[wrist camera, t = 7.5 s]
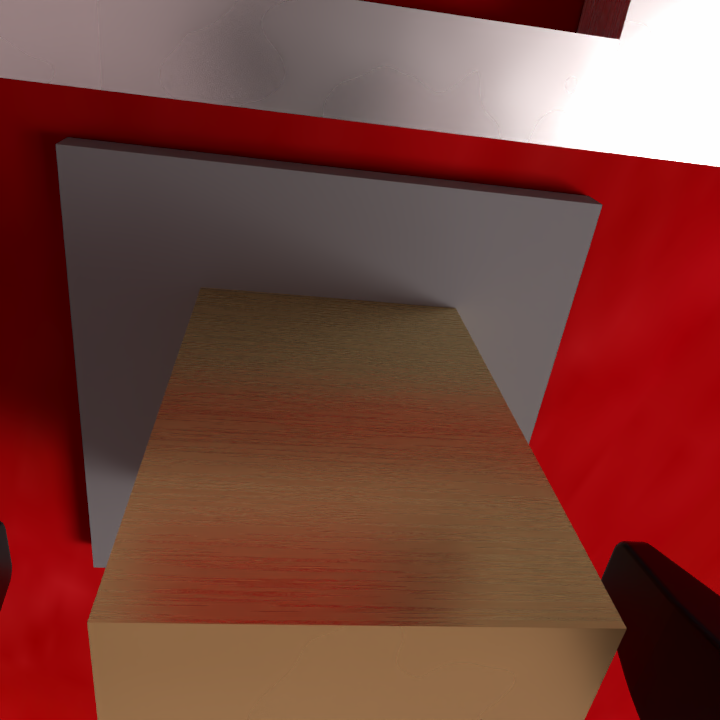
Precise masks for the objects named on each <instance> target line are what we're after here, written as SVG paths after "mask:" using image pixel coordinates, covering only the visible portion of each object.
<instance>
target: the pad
mask: <svg viewBox="0 0 720 720" xmlns="http://www.w3.org/2000/svg"><path fill="white" fill-rule="evenodd" d="M56 155H57V166H58V177H59V188H60V199H61V210H62V221H63V232H64V243H65V255H66V266H67V277H68V288H69V299H70V310H71V321H72V332H73V343H74V354H75V365H76V376H77V387H78V398H79V409H80V420H81V432H82V443H83V454H84V465H85V476H86V487H87V498H88V509H89V520H90V531H91V542H92V553H93V564H94V567H104V568H106V566H107V563H108V560H109V557H110V554H111V551H112V548H113V545H114V542H115V539H116V536H117V533H118V530H119V527H120V524H121V521H122V519H123V516H124V513H125V510H126V507H127V504H128V501H129V498H130V495H131V492H132V489H133V486H134V483H135V480H136V477H137V474H138V471H139V468H140V465H141V462H142V459H143V456H144V453H145V451H146V448H147V445H148V442H149V439H150V436H151V433H152V430H153V427H154V424H155V421H156V418H157V415H158V412H159V409H160V406H161V403H162V400H163V397H164V394H165V391H166V388H167V385H168V383H169V380H170V377H171V374H172V371H173V368H174V365H175V362H176V359H177V356H178V353H179V350H180V347H181V344H182V341H183V338H184V335H185V332H186V329H187V326H188V323H189V320H190V317H191V314H192V312H193V309H194V306H195V303H196V300H197V297H198V294H199V291H200V288H201V287H203V288H215V289H228V290H240V291H252V292H265V293H277V294H289V295H301V296H314V297H326V298H338V299H350V300H363V301H375V302H387V303H399V304H412V305H424V306H436V307H449V308H456V309H457V311H458V313H459V315H460V317H461V319H462V321H463V323H464V324H465V326H466V328H467V330H468V332H469V334H470V336H471V338H472V339H473V341H474V343H475V345H476V347H477V349H478V351H479V353H480V354H481V356H482V358H483V360H484V362H485V364H486V366H487V368H488V369H489V371H490V373H491V375H492V377H493V379H494V381H495V383H496V384H497V386H498V388H499V390H500V392H501V394H502V396H503V398H504V399H505V401H506V403H507V405H508V407H509V409H510V411H511V413H512V414H513V416H514V418H515V420H516V422H517V424H518V426H519V428H520V429H521V431H522V433H523V435H524V437H525V439H526V441H527V443H528V444H529V441H530V438H531V435H532V432H533V428H534V425H535V422H536V419H537V415H538V412H539V409H540V406H541V402H542V399H543V396H544V393H545V389H546V386H547V383H548V380H549V376H550V373H551V370H552V367H553V364H554V360H555V357H556V354H557V351H558V347H559V344H560V341H561V338H562V334H563V331H564V328H565V325H566V321H567V318H568V315H569V312H570V308H571V305H572V302H573V299H574V295H575V292H576V289H577V286H578V282H579V279H580V276H581V273H582V269H583V266H584V263H585V260H586V256H587V253H588V250H589V247H590V243H591V240H592V237H593V234H594V230H595V227H596V224H597V221H598V217H599V214H600V211H601V208H602V204H600V203H599V202H597V201H596V200H594V199H592V198H591V197H589V196H584V195H575V194H566V193H558V192H549V191H540V190H531V189H522V188H513V187H505V186H496V185H487V184H478V183H469V182H460V181H451V180H443V179H434V178H425V177H416V176H407V175H398V174H389V173H381V172H372V171H363V170H354V169H345V168H336V167H327V166H319V165H310V164H301V163H292V162H283V161H274V160H265V159H257V158H248V157H239V156H230V155H221V154H212V153H204V152H195V151H186V150H177V149H168V148H159V147H150V146H142V145H133V144H124V143H115V142H106V141H97V140H88V139H80V138H71V137H67V138H65V139H63V140H62V141H60V142H58V143H56Z"/></svg>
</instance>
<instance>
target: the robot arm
mask: <svg viewBox="0 0 720 720" xmlns="http://www.w3.org/2000/svg"><path fill="white" fill-rule="evenodd" d="M11 573H12V563H11V557H10V551H9V546H8V540H7V534H6V529H5V526H4V524H3V523H2V522H1V521H0V610H1V607H2V604H3V601H4V598H5V595H6V592H7V589H8V586H9V583H10V579H11ZM601 581H602V583H603V585H604V587H605V589H606V591H607V593H608V594H609V596H610V598H611V600H612V602H613V604H614V606H615V608H616V609H617V611H618V613H619V615H620V617H621V619H622V621H623V623H624V624H625V626H626V628H627V629H626V631H625V634H624V636H623V638H622V640H621V642H620V644H619V646H618V648H617V651H618V655H619V658H620V662H621V665H622V669H623V672H624V676H625V679H626V682H627V685H628V688H629V691H630V694H631V697H632V700H633V702H634V705H635V708H636V710H637V713H638V715H639V718H640V720H720V596H719V595H718V594H716V593H715V592H714V591H712V590H711V589H709V588H708V587H707V586H705V585H704V584H703V583H701V582H700V581H699V580H697V579H696V578H695V577H693V576H692V575H690V574H689V573H688V572H686V571H685V570H684V569H682V568H681V567H680V566H678V565H677V564H676V563H674V562H673V561H671V560H670V559H669V558H667V557H666V556H665V555H663V554H662V553H661V552H659V551H658V550H657V549H655V548H654V547H652V546H651V545H649V544H648V543H645V542H631V541H623V542H620V543H618V544H617V545H616V546H615V548H614V551H613V553H612V555H611V558H610V560H609V562H608V565H607V567H606V569H605V572H604V574H603V576H602V579H601Z"/></svg>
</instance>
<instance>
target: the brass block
mask: <svg viewBox="0 0 720 720" xmlns="http://www.w3.org/2000/svg"><path fill="white" fill-rule="evenodd" d="M87 624H88V633H89V642H90V652H91V661H92V670H93V680H94V689H95V698H96V707H97V717H98V720H584V719H585V717H586V715H587V712H588V710H589V708H590V706H591V704H592V702H593V700H594V698H595V695H596V693H597V691H598V689H599V687H600V685H601V683H602V680H603V678H604V676H605V674H606V672H607V670H608V668H609V666H610V663H611V661H612V659H613V657H614V655H615V653H616V651H617V648H618V646H619V644H620V642H621V640H622V638H623V636H624V634H625V631H626V629H627V628H626V626H625V624H624V623H623V621H622V619H621V617H620V615H619V613H618V611H617V609H616V608H615V606H614V604H613V602H612V600H611V598H610V596H609V594H608V593H607V591H606V589H605V587H604V585H603V583H602V581H601V579H600V578H599V576H598V574H597V572H596V570H595V568H594V566H593V564H592V563H591V561H590V559H589V557H588V555H587V553H586V551H585V549H584V548H583V546H582V544H581V542H580V540H579V538H578V536H577V534H576V533H575V531H574V529H573V527H572V525H571V523H570V521H569V519H568V518H567V516H566V514H565V512H564V510H563V508H562V506H561V504H560V503H559V501H558V499H557V497H556V495H555V493H554V491H553V489H552V488H551V486H550V484H549V482H548V480H547V478H546V476H545V474H544V473H543V471H542V469H541V467H540V465H539V463H538V461H537V459H536V458H535V456H534V454H533V452H532V450H531V448H530V446H529V444H528V443H527V441H526V439H525V437H524V435H523V433H522V431H521V429H520V428H519V426H518V424H517V422H516V420H515V418H514V416H513V414H512V413H511V411H510V409H509V407H508V405H507V403H506V401H505V399H504V398H503V396H502V394H501V392H500V390H499V388H498V386H497V384H496V383H495V381H494V379H493V377H492V375H491V373H490V371H489V369H488V368H487V366H486V364H485V362H484V360H483V358H482V356H481V354H480V353H479V351H478V349H477V347H476V345H475V343H474V341H473V339H472V338H471V336H470V334H469V332H468V330H467V328H466V326H465V324H464V323H463V321H462V319H461V317H460V315H459V313H458V311H457V309H456V308H449V307H436V306H424V305H412V304H399V303H387V302H375V301H363V300H350V299H338V298H326V297H314V296H301V295H289V294H277V293H265V292H252V291H240V290H228V289H215V288H203V287H201V288H200V291H199V294H198V297H197V300H196V303H195V306H194V309H193V312H192V314H191V317H190V320H189V323H188V326H187V329H186V332H185V335H184V338H183V341H182V344H181V347H180V350H179V353H178V356H177V359H176V362H175V365H174V368H173V371H172V374H171V377H170V380H169V383H168V385H167V388H166V391H165V394H164V397H163V400H162V403H161V406H160V409H159V412H158V415H157V418H156V421H155V424H154V427H153V430H152V433H151V436H150V439H149V442H148V445H147V448H146V451H145V453H144V456H143V459H142V462H141V465H140V468H139V471H138V474H137V477H136V480H135V483H134V486H133V489H132V492H131V495H130V498H129V501H128V504H127V507H126V510H125V513H124V516H123V519H122V521H121V524H120V527H119V530H118V533H117V536H116V539H115V542H114V545H113V548H112V551H111V554H110V557H109V560H108V563H107V566H106V569H105V572H104V575H103V578H102V581H101V584H100V587H99V590H98V592H97V595H96V598H95V601H94V604H93V607H92V610H91V613H90V616H89V619H88V622H87Z"/></svg>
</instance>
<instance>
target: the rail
mask: <svg viewBox="0 0 720 720" xmlns="http://www.w3.org/2000/svg"><path fill="white" fill-rule="evenodd" d="M0 78H8V79H16V80H24V81H32V82H41V83H49V84H57V85H65V86H73V87H81V88H89V89H97V90H105V91H113V92H122V93H130V94H138V95H146V96H154V97H162V98H170V99H178V100H186V101H194V102H203V103H211V104H219V105H227V106H235V107H243V108H251V109H259V110H267V111H275V112H284V113H292V114H300V115H308V116H316V117H324V118H332V119H340V120H348V121H356V122H365V123H373V124H381V125H389V126H397V127H405V128H413V129H421V130H429V131H437V132H446V133H454V134H462V135H470V136H478V137H486V138H494V139H502V140H510V141H518V142H527V143H535V144H543V145H551V146H559V147H567V148H575V149H583V150H591V151H599V152H608V153H616V154H624V155H632V156H640V157H648V158H656V159H664V160H672V161H680V162H689V163H697V164H705V165H713V166H720V0H585V2H584V6H583V10H582V14H581V18H580V21H579V25H578V29H577V33H572V32H566V31H559V30H552V29H546V28H539V27H532V26H526V25H519V24H512V23H506V22H499V21H492V20H486V19H479V18H472V17H466V16H459V15H452V14H446V13H439V12H432V11H426V10H419V9H412V8H406V7H399V6H392V5H386V4H379V3H372V2H366V1H359V0H0Z"/></svg>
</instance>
